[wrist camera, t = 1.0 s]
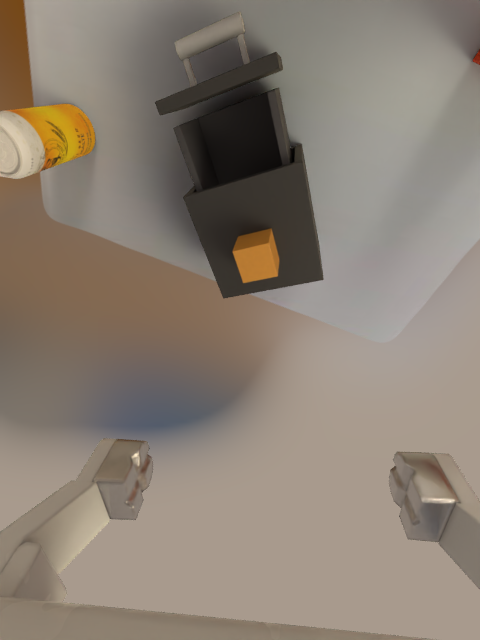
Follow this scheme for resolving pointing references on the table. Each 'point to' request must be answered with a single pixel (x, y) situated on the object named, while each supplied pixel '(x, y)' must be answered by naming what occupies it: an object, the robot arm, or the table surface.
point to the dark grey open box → (259, 225)
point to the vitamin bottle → (42, 138)
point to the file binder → (477, 58)
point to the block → (256, 256)
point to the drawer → (229, 114)
